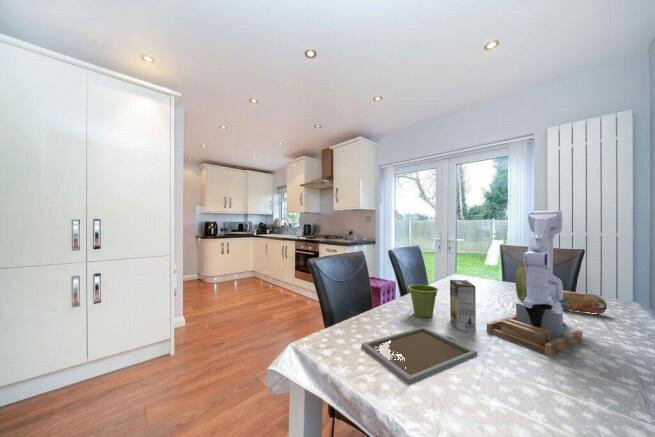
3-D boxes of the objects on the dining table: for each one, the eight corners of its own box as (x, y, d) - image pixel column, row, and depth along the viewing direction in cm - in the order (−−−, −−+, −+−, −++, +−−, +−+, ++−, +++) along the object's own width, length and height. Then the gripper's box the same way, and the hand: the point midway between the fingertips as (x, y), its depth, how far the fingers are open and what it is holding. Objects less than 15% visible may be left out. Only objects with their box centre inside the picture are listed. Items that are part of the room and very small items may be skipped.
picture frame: (361, 343, 73) (428, 324, 86) (361, 348, 73) (428, 329, 86) (409, 379, 56) (482, 349, 69) (409, 386, 56) (483, 354, 69)
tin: (557, 309, 105) (557, 290, 106) (555, 307, 108) (555, 289, 108) (607, 316, 98) (606, 296, 98) (603, 314, 100) (603, 294, 101)
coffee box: (449, 319, 94) (449, 279, 94) (467, 321, 92) (466, 280, 93) (457, 329, 85) (456, 284, 85) (477, 331, 83) (476, 285, 84)
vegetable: (536, 304, 112) (535, 262, 113) (525, 305, 111) (524, 262, 112) (523, 300, 118) (522, 260, 119) (513, 301, 117) (512, 260, 118)
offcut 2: (510, 331, 84) (510, 318, 84) (550, 345, 74) (550, 331, 74) (507, 332, 83) (507, 319, 83) (547, 347, 73) (546, 332, 73)
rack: (520, 321, 92) (519, 313, 92) (582, 341, 77) (582, 331, 77) (486, 331, 83) (486, 323, 83) (550, 356, 67) (550, 346, 67)
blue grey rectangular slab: (520, 326, 87) (519, 302, 88) (563, 341, 77) (562, 313, 77) (516, 327, 86) (515, 303, 87) (559, 342, 76) (559, 314, 76)
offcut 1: (505, 333, 82) (504, 320, 82) (544, 348, 72) (544, 333, 73) (501, 334, 81) (501, 321, 82) (541, 349, 72) (541, 334, 72)
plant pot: (440, 313, 101) (440, 286, 101) (436, 322, 91) (436, 293, 91) (411, 307, 107) (411, 283, 108) (405, 316, 97) (405, 288, 98)
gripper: (541, 291, 75) (542, 334, 75) (562, 286, 82) (563, 326, 81) (515, 286, 82) (516, 325, 81) (537, 281, 88) (538, 318, 88)
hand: (538, 325), depth 82 cm, fingers closed on blue grey rectangular slab, 2 cm apart
